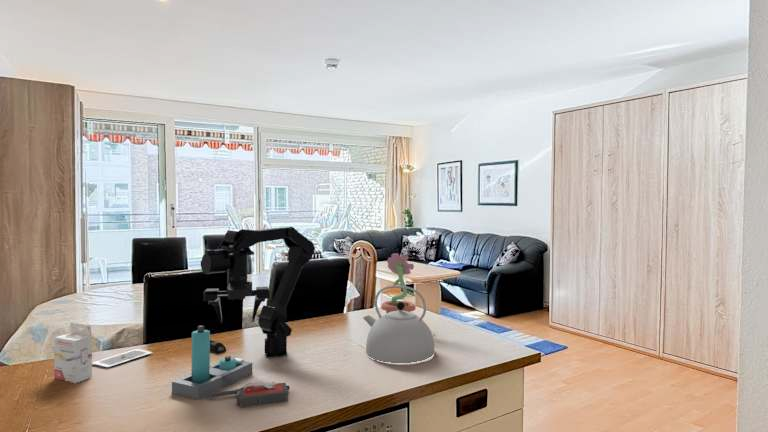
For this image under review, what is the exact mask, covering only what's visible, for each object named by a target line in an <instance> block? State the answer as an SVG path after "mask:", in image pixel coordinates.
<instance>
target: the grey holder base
mask: <svg viewBox="0 0 768 432" xmlns="http://www.w3.org/2000/svg"><path fill="white" fill-rule="evenodd" d="M251 374H253V362H250V361H246V360H245V359H244V358H240V357H235V358H234V357H231V355H226V356H224V358H222V359H221V358H220V360H219V361H218V362H216V363H212V364H210V379H209V380H207V381H205V382H203V383H201V384H199V383H194V382H191V378H192V372H191V373H190V374H187V375H184V376H182V377H179V378H177V379H175V380H173V381H171V394H173V395H178V396H181V397H186V398H191V399H194V400H201V399H202V398H205V397H206V396H207V395H208V393H214V392H218V391H219V390H220V389H223V388H225V387H227V386H229V385H231V384H233V383H235V382H237V381H239V380H241V379H243V378H245V377H247V376H249V375H251ZM207 397H208V396H207Z"/></svg>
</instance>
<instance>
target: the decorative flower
mask: <svg viewBox="0 0 768 432" xmlns="http://www.w3.org/2000/svg"><path fill="white" fill-rule="evenodd" d="M407 260H409V256H407V255H406V254H403V253H401V254H399V253H396V252H394V253H392V254H391V256H388V258H387V261H386V262H387V264H388V265H387V268H388V269H389V270H390V271H391V272H392V273H393V274H396V275H398V279H395V281H394V282H393V286H398V284H400V286H407V285H406V283H405V280H404V275H410V274H411V270H414V268H415V265H414V263H408V261H407ZM401 289H402V293H401V294H399V295H398V294H397V295H394V296H392V295H388V294H386V296H388V297H390V298H391V300H388V301H384V302H382V303H381V305H380V308H381V310H383V311H386V313H385V314H387V313H389V312H393V311H399V309H398V308H397V304H398V303H399V302H403V303H404V305H405V307H404V309H403V310H402V311H407V312H413V311H416V309H417V308H416V305H415V303H413V302H411V301H405V300H403V299H405V298H406V297H407V295H410V296H412V297H416V293H415V292H413V291H412V290H408V289H404V288H401Z"/></svg>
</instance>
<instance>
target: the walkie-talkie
mask: <svg viewBox="0 0 768 432" xmlns="http://www.w3.org/2000/svg"><path fill="white" fill-rule="evenodd" d="M289 390H290V385H287V383H286V382H279V383H275V381H272V382H271V383H270V384H267V383H265V382H262V381H257V382H249V383H246V384H245V385H241V386H240V388H236V389H232V390H223V391H215V392H213V393H208V395H207V398H215V397H223V396H225V397H226V396H232V395H236V405H237V406H238V405H240V408H247V407H249V408H250V407H255V406H256V407H257V406H262V405H271V404H276V403H285V402H287V401H288V400H289Z"/></svg>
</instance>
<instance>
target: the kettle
mask: <svg viewBox="0 0 768 432" xmlns="http://www.w3.org/2000/svg"><path fill="white" fill-rule="evenodd" d="M402 288H404V289H407V290H408V291H411V292H413V293H414V294H415V295H418V297H419V298H420V299H421V301H422V306H423V312H422V314H421V316H418V315H417V314H415V313H413V312H412V311H410V312H407V311H402V310H403V309H404V307H405V305H404V303H403V302H399V303H398V304H397V308H398V309H399V311H393V312H389V313H387V314H386V313H385V314H383V315H381V313H380V310H379V307H378V298H379V296H380V294H381V293H383V292H384V291H385V290H388V289H402ZM426 304H427V303H426V301H425V298H424V296H423V295H422V294H421V292H419V291H418V290H417V289H415V288H413V287H410V286H407V285H406V286H401V285H395V286H394V285H388V286H384V287H383V288H380V289H379V290H378V292H377V293H376V294H375V298H374V308H375V311H376V313H377V315H378V316H377V317H378V319H376V318H375V317H373V316H371V315H370V314H368V315H366V316H363V317H362V318H363V320H364V321H365V322H366V323H367V324H368V325H369V326H370V329H369V331H368V334H367V337H366V342H365V343H366V345H365V354H366V353H367V355H368V356H369V357H371V358H373V359H375V360H379V361H383V362H391V363H411V362H417V361H422V360H425V359H427V358H429V357H431V356H432V355H433V354H435V342H434V336H433V334H432V331H431V329H430V327H429V326H428V324H427V323H426V322H425V321H424V320H423V319H424V317H425V316H426V314H427V305H426Z"/></svg>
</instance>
